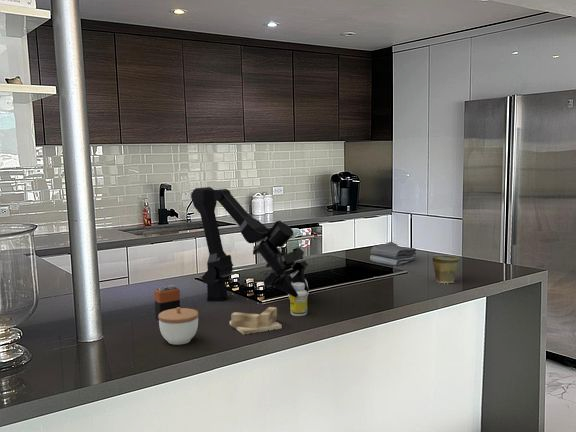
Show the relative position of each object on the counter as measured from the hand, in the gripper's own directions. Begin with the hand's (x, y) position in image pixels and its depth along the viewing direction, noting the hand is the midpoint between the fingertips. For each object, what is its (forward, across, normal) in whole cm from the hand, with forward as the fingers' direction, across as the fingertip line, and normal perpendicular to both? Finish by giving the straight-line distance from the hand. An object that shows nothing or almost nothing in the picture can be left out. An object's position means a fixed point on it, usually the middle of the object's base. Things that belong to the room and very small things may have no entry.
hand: (302, 294), depth 175 cm
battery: (-19, -25, +29) cm, 43 cm away
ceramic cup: (+23, +66, -13) cm, 71 cm away
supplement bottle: (+4, 0, +6) cm, 7 cm away
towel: (0, +93, +10) cm, 94 cm away
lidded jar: (-7, -38, +16) cm, 42 cm away
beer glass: (-8, +22, +13) cm, 26 cm away
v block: (+1, -17, +9) cm, 19 cm away
